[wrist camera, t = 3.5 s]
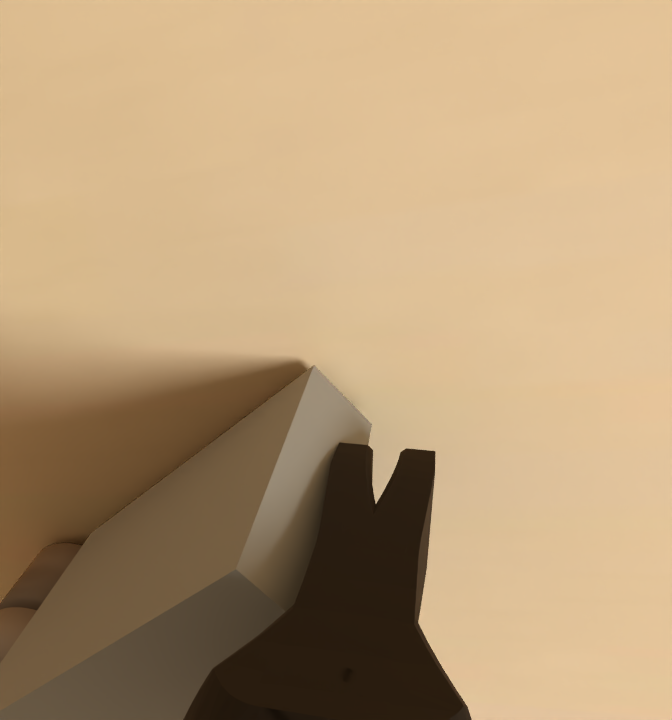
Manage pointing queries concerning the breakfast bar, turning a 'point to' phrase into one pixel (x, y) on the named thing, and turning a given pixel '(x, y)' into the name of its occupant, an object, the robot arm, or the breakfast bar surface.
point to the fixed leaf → (40, 576)
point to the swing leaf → (182, 570)
